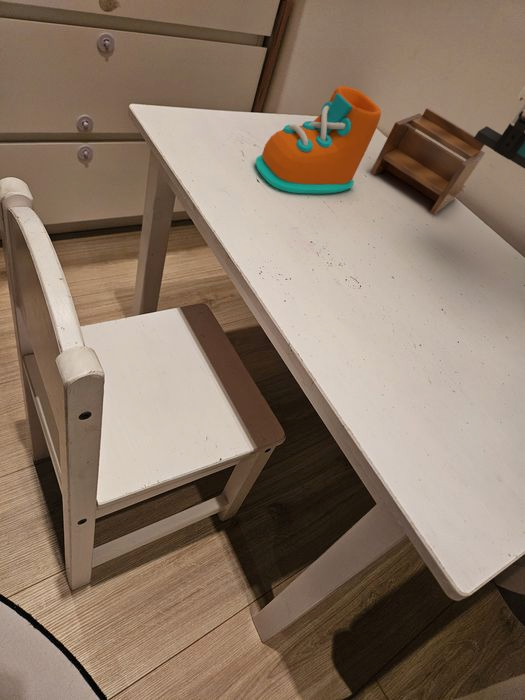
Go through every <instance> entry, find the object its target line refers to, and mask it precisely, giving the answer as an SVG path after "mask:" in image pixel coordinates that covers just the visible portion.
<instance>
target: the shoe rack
mask: <svg viewBox="0 0 525 700" xmlns="http://www.w3.org/2000/svg"><path fill="white" fill-rule="evenodd" d="M416 130H418V131H419V132H420V133H419V132H418V131H416ZM422 134H424V135H426V136H427V137H426V136H424V135H422ZM475 136H476V135H474V134H473V133H471V132H469V131H467V130H465V129H464V128H462V127H461V126H459V125H457V124H456V123H453V122H452V121H451V120H449V119H447V118H445V117H444V116H442V115H440V114H438V113H437V112H436V111H434V110H432V109H430V108H429V107H426V109H425V110H424V112H423V113H417V114H414V115H411V116H409V117H406V118H403V119H401V120H398V121H396V122H395V123H394V124H393V126H392V128H391V130H390V132H389V134H388V136H387V138H386V141H384V144H383V146H382V148H381V150H380V152H379V154H378V156H377V158H376V160H375V162H374V164H373V166H372V168H371V169H370V172H369V173H370V174H371V175H373V176H375V175H377V174H380V173H381V172H383V171H385V170H386V171H387V172H389V173H391V174H393V175H394V176H395V177H397V178H398V179H400V180H402V181H403V182H405V183H406V184H407V185H409V186H411V187H412V188H414V189H415V190H417V191H418V192H420V193H422V194H423V195H425V196H426V197H428V198H429V199H430V200H432V201H434V202H435V203H434V204H433V206H432V208H431V209H430V210H429V213H430V214H431V215H433V216H434V215H435V214H437V213H438V212H439V211H441V210H442V209H443V208H445V207H446V206H447V205H448V204H450V203H451V202H452V201H454V200H455V198H456V197H457V195H458V194H459V193H460V191H461V189H462V188H463V186H464V185H465V184H466V182H467V180H468V179H469V178H470V176H471V175H472V173H473V172H474V171H475V169H476V168H477V166H478V165H479V163H480V161H481V160H482V159H483V157H484V156H485V154H486V152H484V151H483V148H484V147H485V145H484V144H482V143H481V142H479V141H477V140H476V139H474V137H475ZM428 137H429V138H430V139H429V138H428ZM431 139H432V140H431ZM433 140H434V141H435V142H434V141H433ZM436 142H437V143H436ZM438 143H439V144H438ZM441 145H442V146H441ZM443 147H445V148H447V149H448V150H447V149H445V148H443ZM449 150H450V151H451V152H450V151H449ZM452 152H453V153H452ZM454 153H455V154H456V155H455V154H454ZM457 155H458V156H459V157H458V156H457ZM460 157H461V158H460ZM462 158H463V159H462Z"/></svg>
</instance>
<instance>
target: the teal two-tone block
mask: <svg viewBox="0 0 525 700" xmlns="http://www.w3.org/2000/svg"><path fill="white" fill-rule="evenodd" d="M474 136H475V137H474V139H476V140H477V141H479V142H481V143H482V144H484V146H486V147H488V148H489V149H491V150H493V147H494V146H495V144H496V143H497V142H498V140H499V139H500V137H501V136H502V134H501V133H499V132H498V131H496V130H494V129H492V128H491V127H490V126H487V125H486V126H485V127H482V128H481V129H480V130H478V131H477V133H476V134H475V135H474ZM509 161H511V162H513V163H514V164H516V165H518V166H519V167H521V168H523V169H525V142H524V143H523V145H522V146H521V147H520V149H519V150H518V151H517V153H516V154H515V156H514V157H513V158H512V159H510V160H509Z"/></svg>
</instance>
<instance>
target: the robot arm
mask: <svg viewBox="0 0 525 700" xmlns="http://www.w3.org/2000/svg"><path fill="white" fill-rule="evenodd" d="M517 100H518V101H519V102H520V101H522V100H525V85H524V86H523V87H522V89H521V90H520V91H519V93H518V94H517ZM501 135H502V136H501V137H500V139H499V140H498V142H497V143H496V144H495V146H494V147H493V149H492V151H494V152H495V153H496V154H499V155H500V156H502V157H503V158H505V159H507V160H509V161H511V160H510V159H512V158H513V157H514V156H515V154H516V153H517V151H518V150H519V149H520V147H521V146H522V145H523V143H524V142H525V103H524V104H523V106H522V107H521V109H520V110H519V112H517V114H516V116H514V119H513V120H512V121H511V123H509V124H508V125H507V127H506V129H505V130H504V131H503V133H502V134H501Z"/></svg>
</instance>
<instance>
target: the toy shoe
mask: <svg viewBox="0 0 525 700" xmlns="http://www.w3.org/2000/svg"><path fill="white" fill-rule="evenodd" d="M381 115H382V111H381V109H380V107H379V106H378V105H377V104H376V103H375V102H374V101H373V100H372V99H370V97H368V96H367V95H366V94H365V93H363V92H362V91H361V90H358V89H357V88H353V87H349V86H344V85H343V86H338V87H336V88H335V90H334V91H333V93H332V95H331V97H330V98H329V100H328V101H327V102H325V103H324V104H323V106H322V107H321V111H320V114H319V115H318V116H317V117H316V118H315V119H314V120H306V121H304V122H303V123H302V125H298V124H287V125H285V126H284V127H283V129H281V130H279V131H276V132H275V133H274V134H272V135H271V136H270V137H269V139H268V140H267V141H266V143H265V144H264V147H263V150H262V153H261V154H260V155H258V156H256V159H255V165H256V168H257V171H258V172H259V173H260V175H261V177H262V178H263V179H264V180H265V181H266V182H267V183H268V184H269V185H271V186H272V187H273V188H275V189H278V190H280V191H283V192H286V193H293V194H307V195H309V194H310V195H311V194H312V195H316V194H317V195H318V194H319V195H321V194H323V195H324V194H334V193H341V192H345V191H347V190H349V189H351V188H352V187H353V186H354V185H355V182H354V177H355V175H356V172H357V171H358V168H359V166H360V164H361V162H362V161H363V158H364V156H365V153H366V152H367V150H368V147H369V145H370V143H371V141H372V139H373V137H374V134H375V133H376V130H377V129H378V125H379V123H380V120H381Z"/></svg>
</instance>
